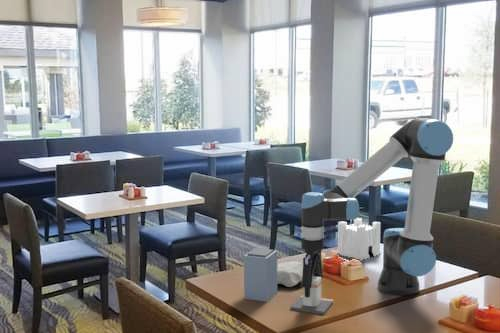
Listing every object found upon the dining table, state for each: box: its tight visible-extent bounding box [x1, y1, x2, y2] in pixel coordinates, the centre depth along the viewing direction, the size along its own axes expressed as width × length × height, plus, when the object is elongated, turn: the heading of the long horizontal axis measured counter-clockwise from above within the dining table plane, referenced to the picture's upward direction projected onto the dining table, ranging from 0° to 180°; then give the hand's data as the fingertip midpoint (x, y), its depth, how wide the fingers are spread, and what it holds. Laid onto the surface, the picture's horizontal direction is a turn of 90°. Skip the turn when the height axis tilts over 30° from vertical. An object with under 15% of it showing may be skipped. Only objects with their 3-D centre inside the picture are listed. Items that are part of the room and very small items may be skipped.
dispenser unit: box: [243, 247, 278, 303], centre depth 212 cm, size 10×10×17 cm
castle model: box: [337, 217, 382, 261], centre depth 263 cm, size 14×14×15 cm
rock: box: [277, 260, 303, 288], centre depth 227 cm, size 19×7×25 cm
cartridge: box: [302, 276, 323, 307], centre depth 201 cm, size 5×5×9 cm
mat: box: [289, 294, 335, 315], centre depth 202 cm, size 12×12×1 cm
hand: (312, 300), depth 202 cm, fingers open, 9 cm apart
